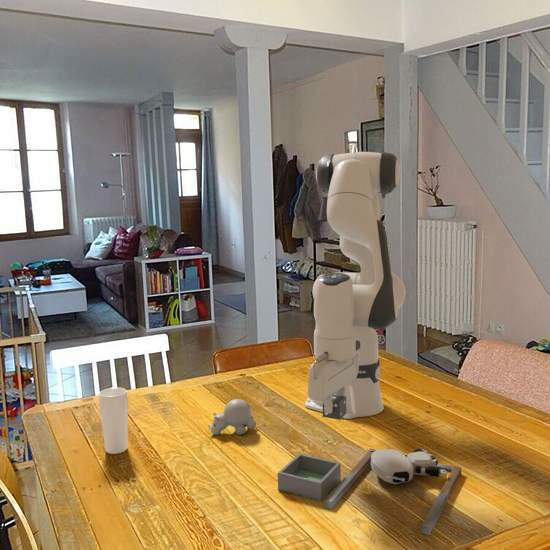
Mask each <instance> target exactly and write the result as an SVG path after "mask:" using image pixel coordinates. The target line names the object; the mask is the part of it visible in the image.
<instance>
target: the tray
mask: <svg viewBox="0 0 550 550" xmlns="http://www.w3.org/2000/svg"><path fill="white" fill-rule="evenodd" d="M341 479H342V478H341V462H339V461H333V460H329V459H326V458H325V459H324V458H320V457H316V456H313V455H312V456H311V455H308V454H302V453H298V454H297V455H296V456H295V457H294V458H293V459H291V461H289V462H288V463H287V464H285V466H284V467H282V469H280V470H279V471H278V472H277V490H278V491H279V492H283V493H286V494H289V493H290V495H293V494H294V495H293V496H297V495H298V496H297V497H302V498H305V499H309V500H312V501H313V500H314V501H316V502H320V503H321V502H323V500H325V499H326V498H327V497H328V495H329V494H330V493H331V492H332V491H333V490H334V489H335V488H336V487H337V485H338V484H339V483H340V482H341V481H342V480H341ZM337 483H338V484H337ZM336 484H337V485H336ZM328 493H329V494H328ZM327 494H328V495H327Z"/></svg>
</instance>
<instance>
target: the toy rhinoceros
mask: <svg viewBox="0 0 550 550" xmlns="http://www.w3.org/2000/svg"><path fill="white" fill-rule="evenodd" d="M213 416H214V417H213V420H212V422H213V423H212V424H211V425H209V424H207V428H208V430H209V431H211V434H212V435H214V436H219V435H221V433H222V431H224V430H225V429H227V428H228V427H229V426H231V427H233V428H234V429H235V432H236V434H237V436H241V435H244V434H245V433H247V429H248V430H253V429H254V428H256V426H257V425H258V424H257V422H256V420H255V419H254V417H253V415H252V409H251V407H250V403H248V402H246V401H245V400H243V399H241V398H234V399H231V400H230V401H229V402H227V403H226V405H225V406H224V408H223V413H218V414H217V413H216V412H213Z"/></svg>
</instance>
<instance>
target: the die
mask: <svg viewBox="0 0 550 550" xmlns="http://www.w3.org/2000/svg"><path fill="white" fill-rule="evenodd" d="M332 403H333V404H334V411H333V412H332V413H331V414H329V413H325V411H324V404H323V412H322V418H323V417H324V418H327V419H333V420H341V419H343V418H342V417H343V416H344V415H346V396H339V395H333V398H332Z"/></svg>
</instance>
